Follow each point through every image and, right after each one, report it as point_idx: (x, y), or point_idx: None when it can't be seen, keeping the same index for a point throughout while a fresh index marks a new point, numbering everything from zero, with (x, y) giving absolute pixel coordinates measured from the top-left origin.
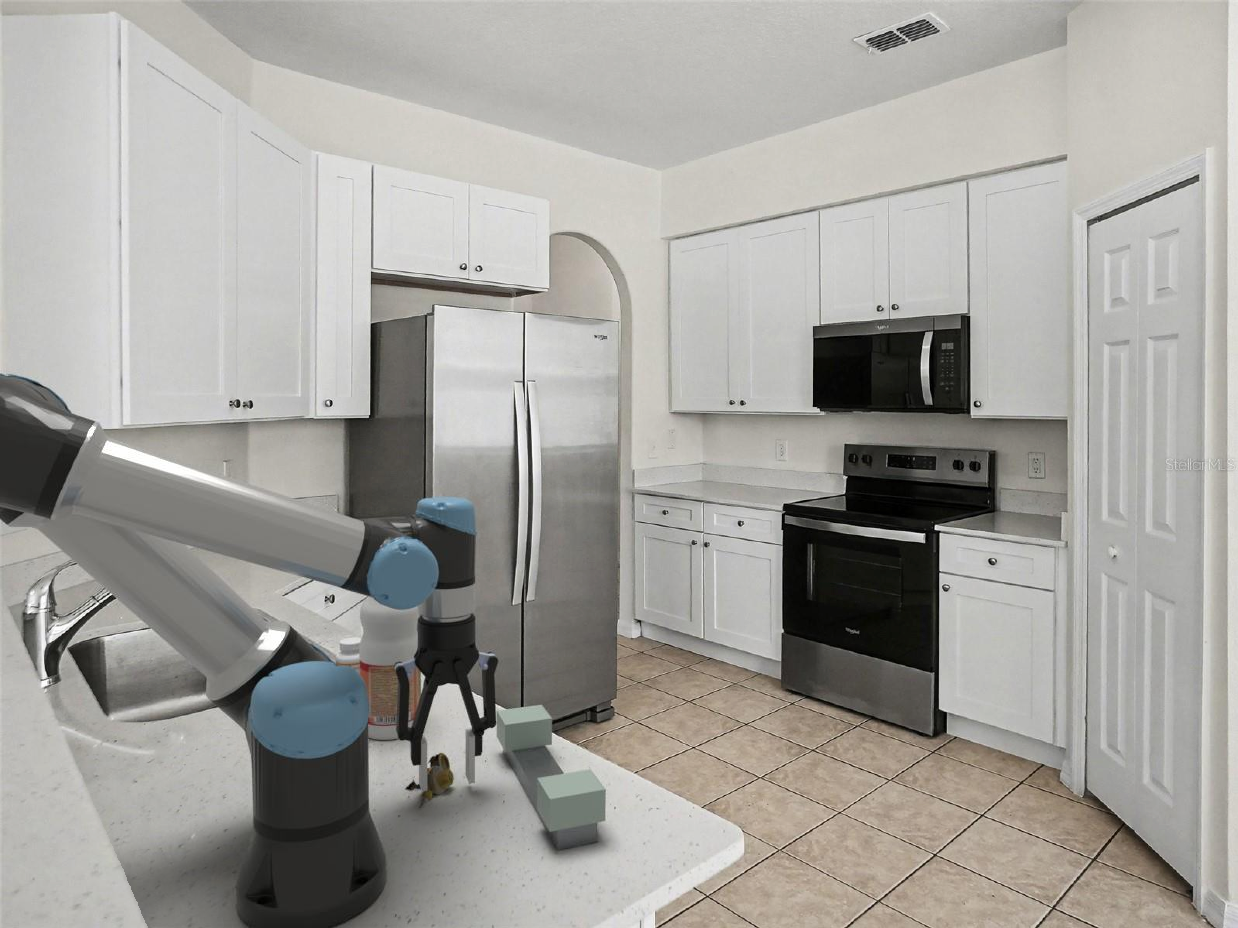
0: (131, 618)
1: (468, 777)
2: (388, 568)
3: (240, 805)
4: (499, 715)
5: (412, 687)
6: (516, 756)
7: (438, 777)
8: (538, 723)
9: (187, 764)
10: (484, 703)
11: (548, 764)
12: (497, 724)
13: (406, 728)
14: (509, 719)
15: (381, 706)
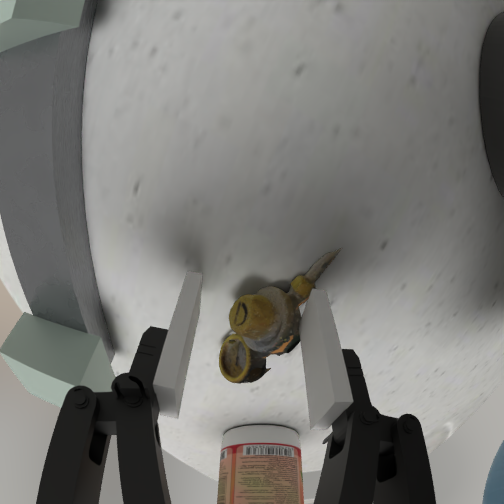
0: None
1: (199, 289)
2: None
3: (481, 349)
4: None
5: (238, 487)
6: (78, 310)
7: (271, 319)
8: (21, 355)
9: (447, 411)
10: (95, 476)
11: (20, 247)
12: None
13: (406, 449)
14: None
15: (286, 469)
